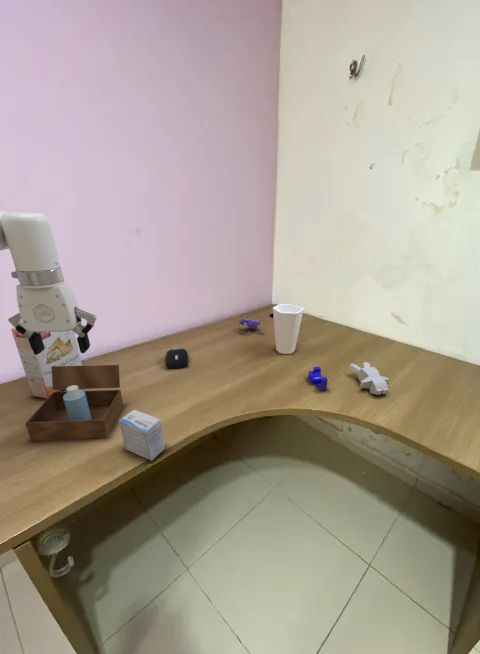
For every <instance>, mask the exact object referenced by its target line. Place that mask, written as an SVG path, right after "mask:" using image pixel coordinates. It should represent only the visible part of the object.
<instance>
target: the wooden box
mask: <svg viewBox="0 0 480 654" xmlns="http://www.w3.org/2000/svg"><path fill="white" fill-rule="evenodd" d="M84 391H85V394H86V398H87V402H88V406H89V410H90V414H91V418H92V419H91V420H73V421H70V420H69V417H68V413H67V410H66V407H65V403H64V400H63V396H64V395H65V394H66V393H67V390H66V391H60V392H53V393H52V394H51V395H50V396H49V397H48V399H47V398H46V399H45V401H43V403H42V404H41V405H40V406H39V407H38V409H37V410H35V412H34V413H33V414H31V416H30V417H29V418H28V420H27V421H26V422H25V427H26V430H27V432H28V435H29V438H30V440H31V442H50V441H70V440H90V439H107V438H109V436H110V434H111V431H112V430H113V427H114V426H115V424H116V422H117V420H118V419H119V415H120V414H121V412H122V410H123V408H124V401H123V396H122V390H121V389H102V390H101V389H99V390H98V389H97V390H84Z"/></svg>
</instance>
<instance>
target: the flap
mask: <svg viewBox="0 0 480 654" xmlns="http://www.w3.org/2000/svg"><path fill="white" fill-rule="evenodd" d="M51 370H52V385H53V390H61V391H63V390H64V391H65V390H66V389H67V388H68V387H69V386H72V385H77V386H78V388H79V390H89V389H90V390H91V389H92V390H93V389H120V388H121V379H120V378H121V377H120V364H94V365H93V364H91V365H90V364H89V365H88V364H87V365H82V366H51Z"/></svg>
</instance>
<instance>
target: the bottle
mask: <svg viewBox="0 0 480 654" xmlns="http://www.w3.org/2000/svg"><path fill="white" fill-rule="evenodd" d="M65 390H66V391H67V393H66V394H65V395H64V396H63V400H64V403H65V407H66V410H67V413H68V417H69V420H70V421H73V420H91V419H92V418H91V414H90V410H89V406H88V402H87V398H86V394H85V391H86V390H84V389H79V388H78V386H77V385H72V386H69V387H68V388H67V389H65Z"/></svg>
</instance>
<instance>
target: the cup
mask: <svg viewBox="0 0 480 654" xmlns="http://www.w3.org/2000/svg"><path fill="white" fill-rule="evenodd" d="M272 311H273V312H272V314H273V315H272V316H273V328H274V340H275V351H276V352H277V353H279V354H284V355H285V354H286V355H290V354H293V353H294V352H295V351H296V347H297V342H298V337H299V333H300V328H301V323H302V319H303V314H304V308H303V307H301V306H299V305H297V304H291V303H289V304H288V303H280V304H277V305H275V306H273V307H272Z"/></svg>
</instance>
